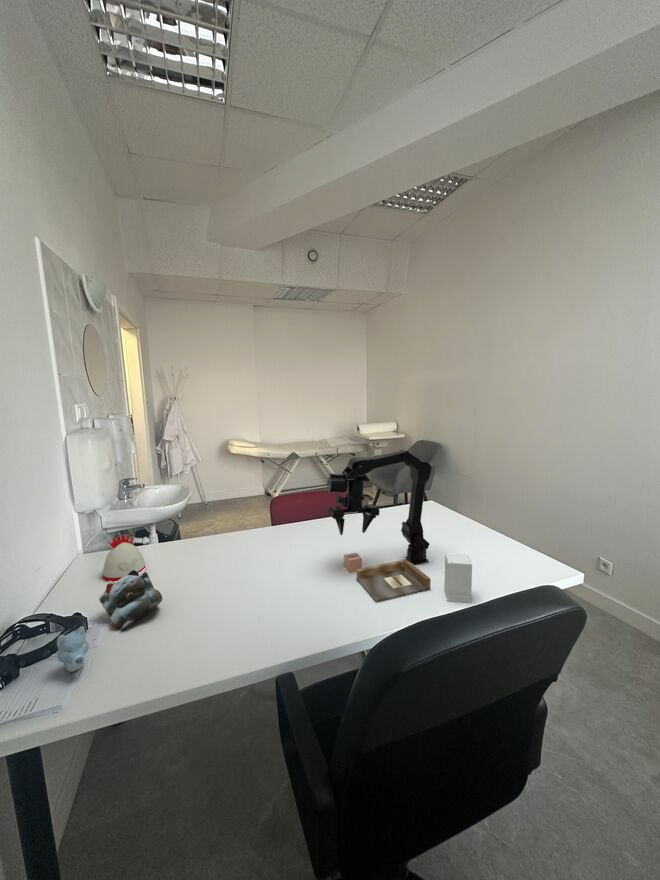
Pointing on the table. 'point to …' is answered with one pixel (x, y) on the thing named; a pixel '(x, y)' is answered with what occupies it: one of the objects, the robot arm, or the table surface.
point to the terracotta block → (352, 562)
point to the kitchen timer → (122, 559)
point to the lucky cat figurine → (129, 599)
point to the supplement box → (458, 577)
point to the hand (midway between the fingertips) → (352, 533)
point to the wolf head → (72, 649)
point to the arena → (392, 580)
